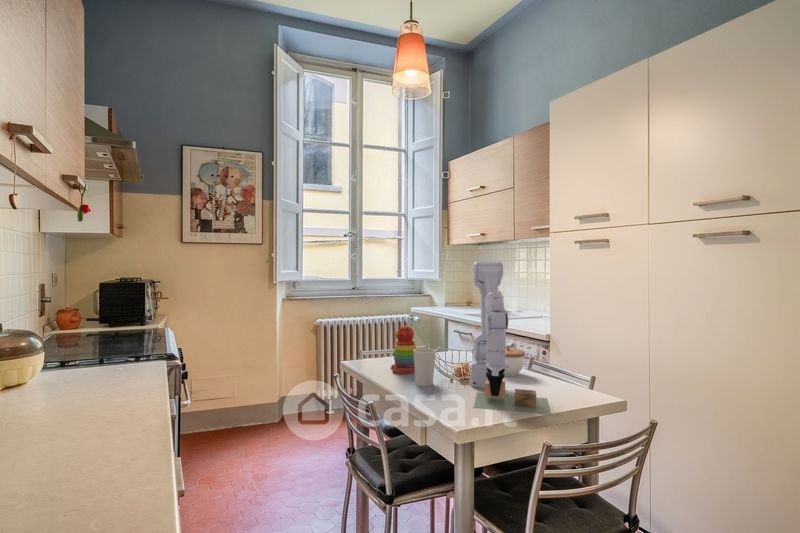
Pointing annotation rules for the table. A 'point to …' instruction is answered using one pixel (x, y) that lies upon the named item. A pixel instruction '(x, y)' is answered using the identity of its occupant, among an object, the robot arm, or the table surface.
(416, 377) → the cup
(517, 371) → the lidded bowl
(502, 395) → the terracotta brick
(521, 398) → the walnut base brick
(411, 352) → the stacking bear
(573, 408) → the table surface
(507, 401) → the baseplate
